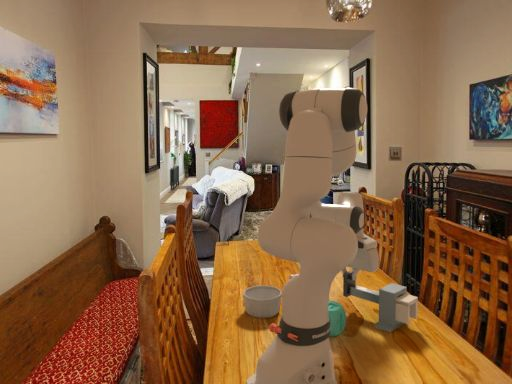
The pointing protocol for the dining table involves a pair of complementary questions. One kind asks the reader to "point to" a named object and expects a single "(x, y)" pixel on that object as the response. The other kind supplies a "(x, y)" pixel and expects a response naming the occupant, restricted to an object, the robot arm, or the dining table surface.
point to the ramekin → (262, 301)
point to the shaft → (358, 289)
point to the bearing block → (389, 307)
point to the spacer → (406, 308)
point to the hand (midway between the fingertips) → (349, 278)
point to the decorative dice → (336, 318)
